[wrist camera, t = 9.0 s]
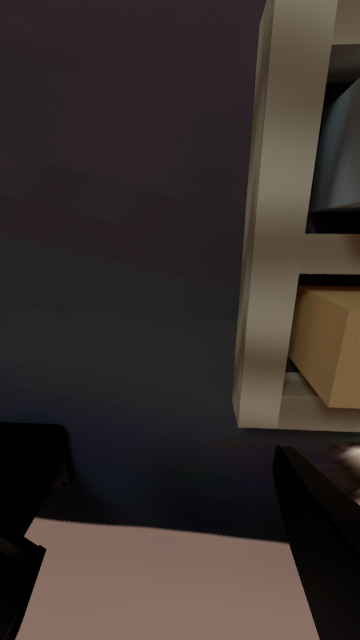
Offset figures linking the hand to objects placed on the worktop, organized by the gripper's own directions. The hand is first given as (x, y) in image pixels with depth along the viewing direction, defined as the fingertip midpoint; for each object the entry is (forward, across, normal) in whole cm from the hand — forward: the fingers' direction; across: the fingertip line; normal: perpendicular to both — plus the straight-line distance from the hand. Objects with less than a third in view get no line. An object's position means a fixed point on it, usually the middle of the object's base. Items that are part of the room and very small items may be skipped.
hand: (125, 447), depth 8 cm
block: (+11, -11, -1) cm, 16 cm away
